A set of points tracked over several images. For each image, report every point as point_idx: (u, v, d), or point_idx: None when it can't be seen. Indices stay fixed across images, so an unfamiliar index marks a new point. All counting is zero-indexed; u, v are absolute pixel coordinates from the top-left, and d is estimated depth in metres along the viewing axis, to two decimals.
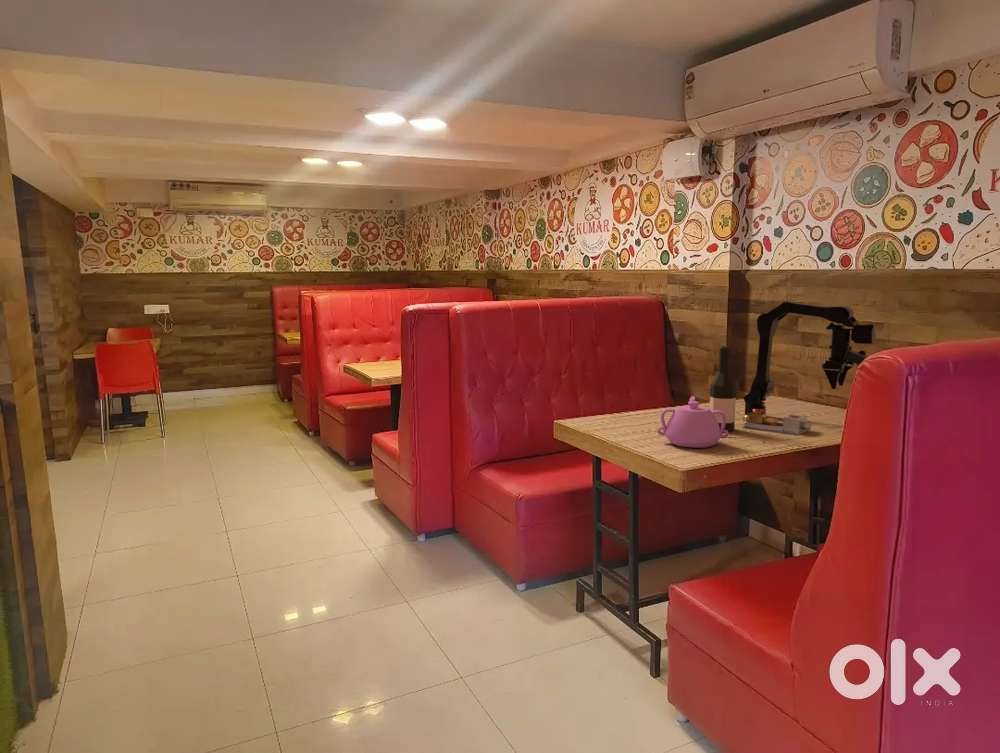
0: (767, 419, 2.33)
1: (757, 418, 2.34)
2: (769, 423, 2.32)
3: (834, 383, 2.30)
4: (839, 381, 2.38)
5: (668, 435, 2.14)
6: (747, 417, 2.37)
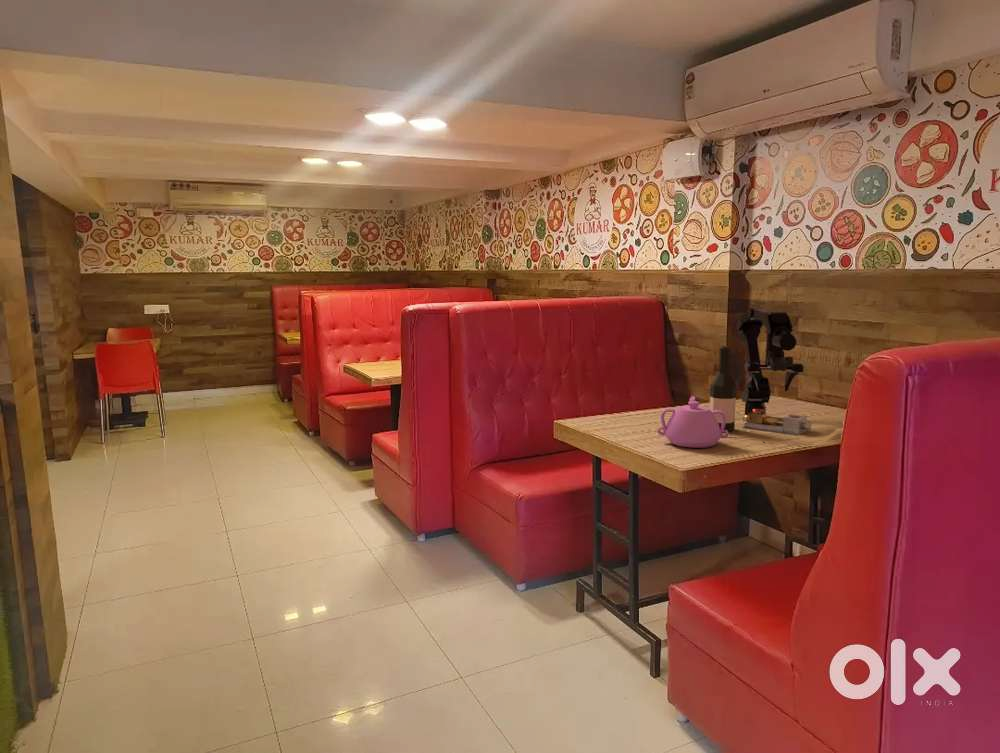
0: (767, 419, 2.33)
1: (757, 418, 2.34)
2: (769, 423, 2.32)
3: (757, 385, 2.39)
4: (785, 386, 2.38)
5: (668, 435, 2.14)
6: (747, 417, 2.37)
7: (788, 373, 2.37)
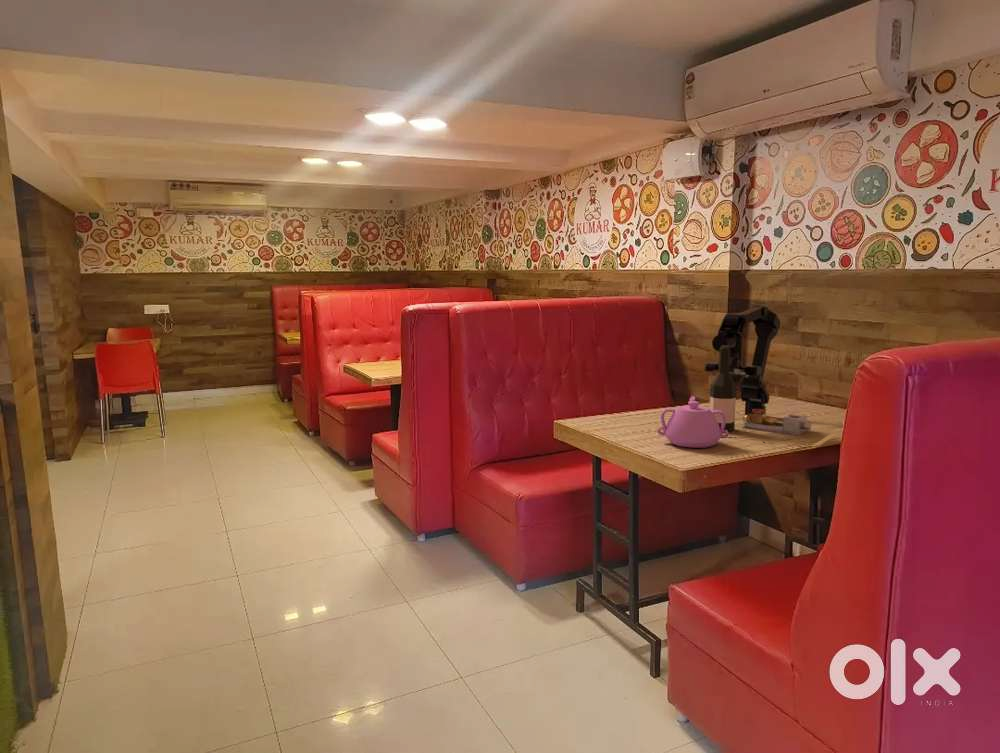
0: (767, 419, 2.33)
1: (757, 418, 2.34)
2: (769, 423, 2.32)
3: None
4: None
5: (668, 435, 2.14)
6: (747, 417, 2.37)
7: None
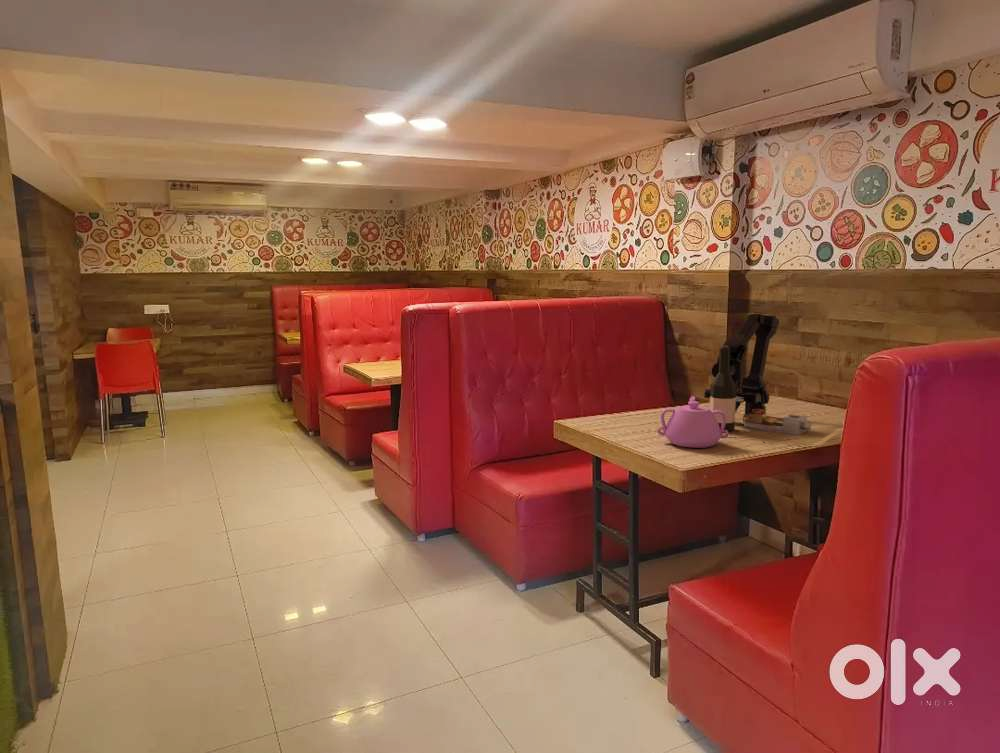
0: (767, 419, 2.33)
1: (757, 418, 2.34)
2: (769, 423, 2.32)
3: None
4: None
5: (668, 435, 2.14)
6: (747, 417, 2.37)
7: None
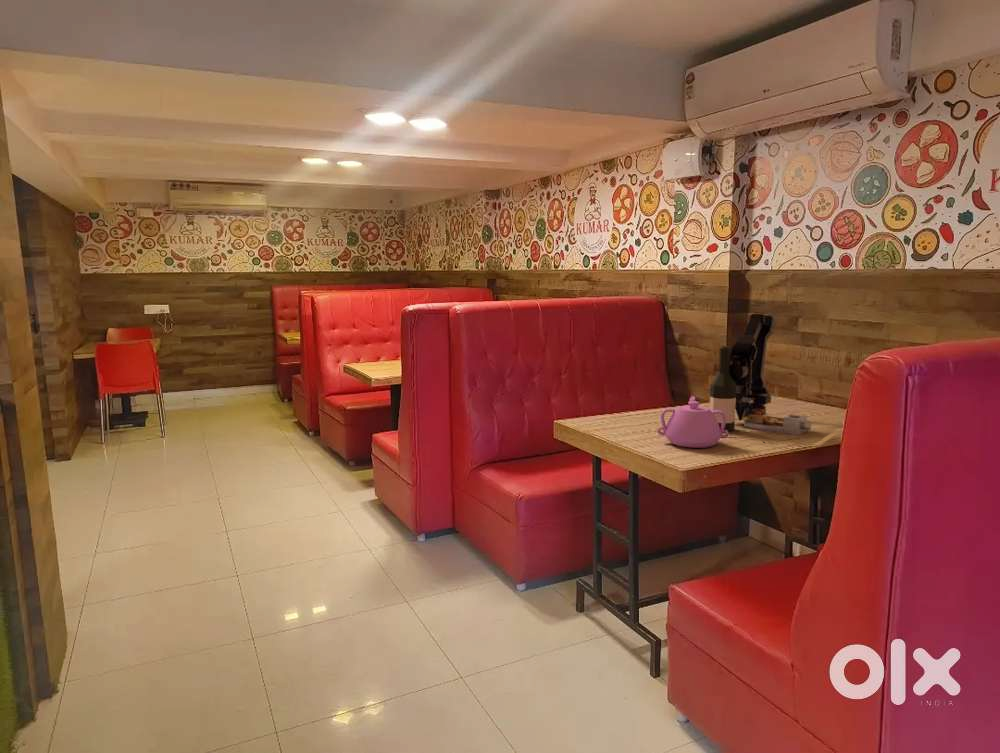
0: (768, 419, 2.33)
1: (758, 418, 2.33)
2: (770, 423, 2.32)
3: None
4: None
5: (668, 435, 2.14)
6: (748, 417, 2.37)
7: None
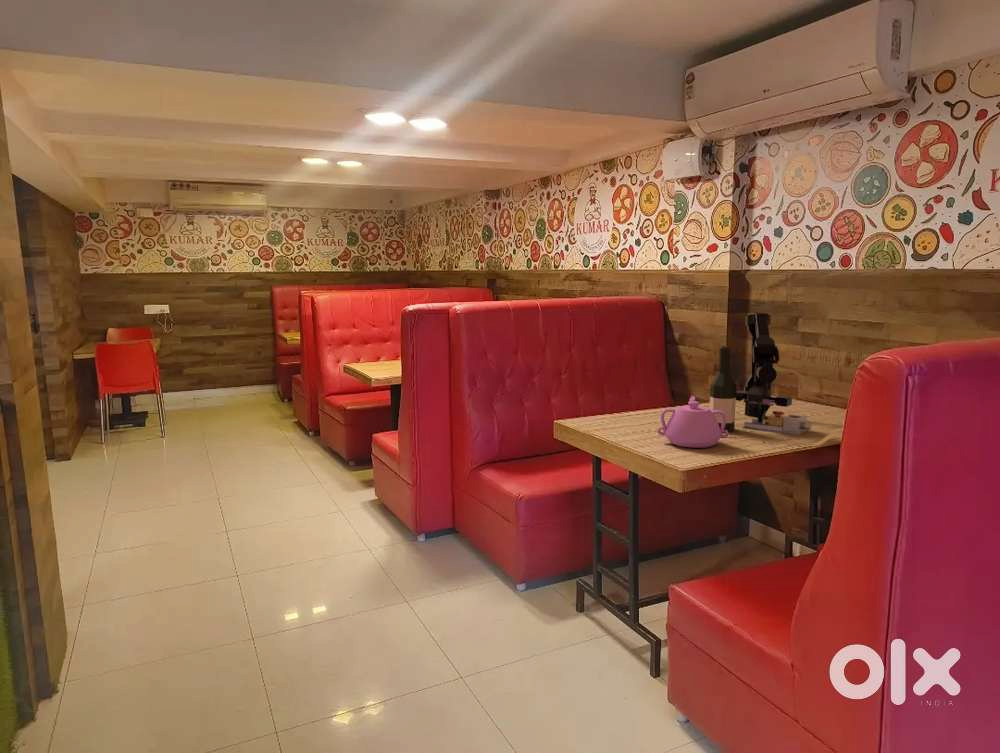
0: None
1: (777, 421, 2.29)
2: None
3: None
4: None
5: (668, 435, 2.14)
6: (767, 420, 2.33)
7: None
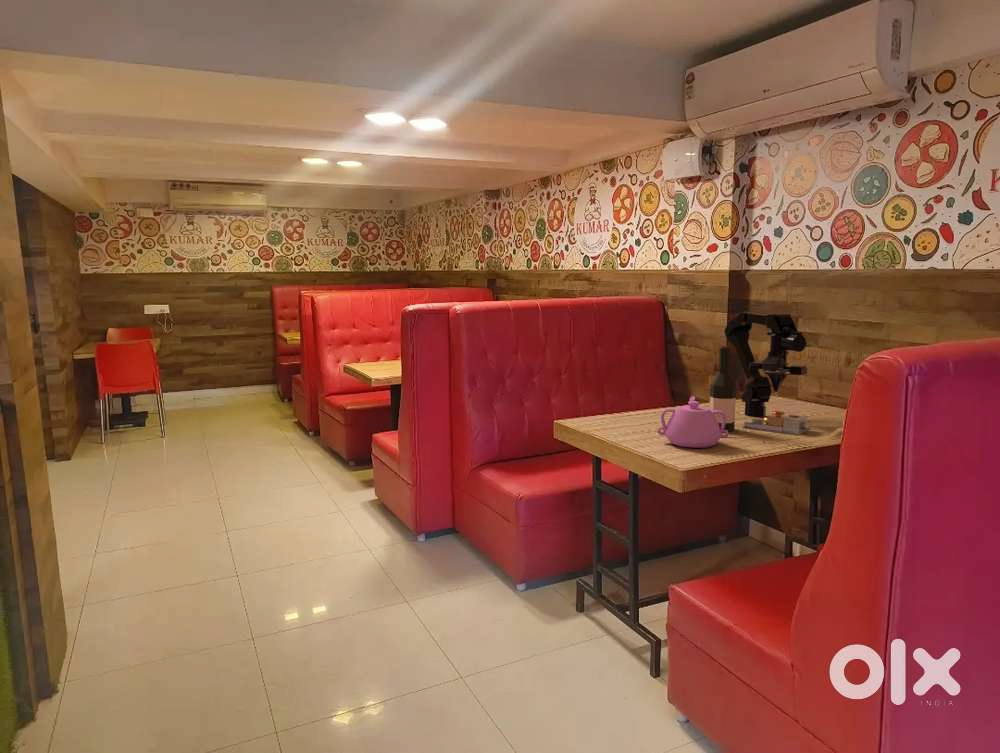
0: None
1: (778, 421, 2.29)
2: None
3: None
4: None
5: (668, 435, 2.14)
6: (767, 420, 2.33)
7: None
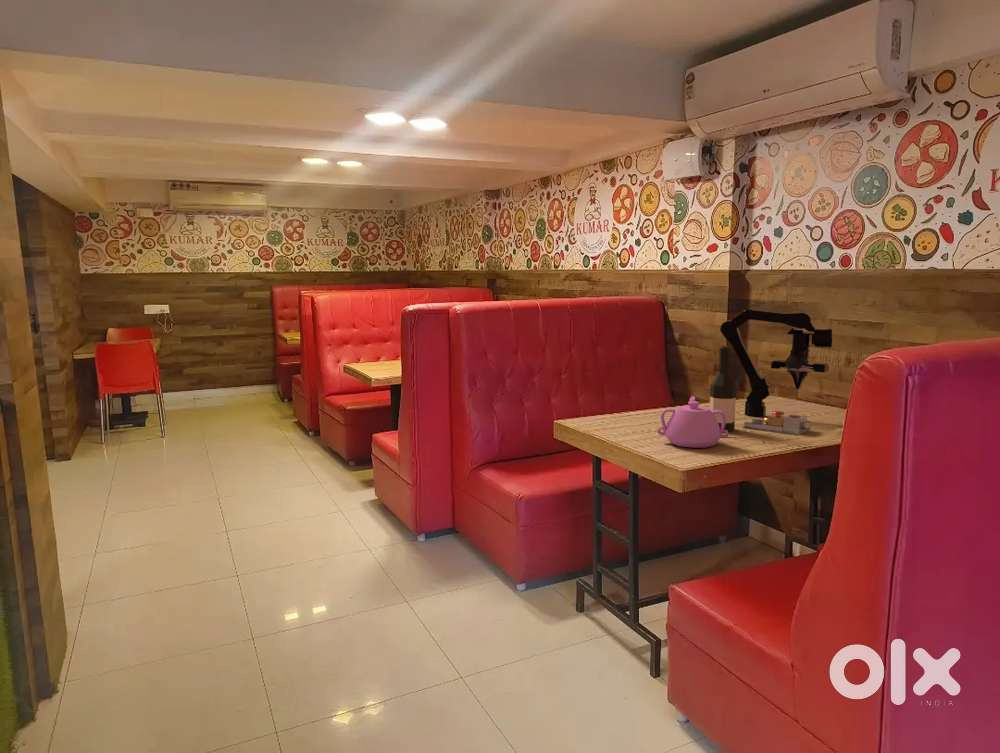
0: None
1: (778, 421, 2.29)
2: None
3: None
4: None
5: (668, 435, 2.14)
6: (767, 420, 2.33)
7: None
